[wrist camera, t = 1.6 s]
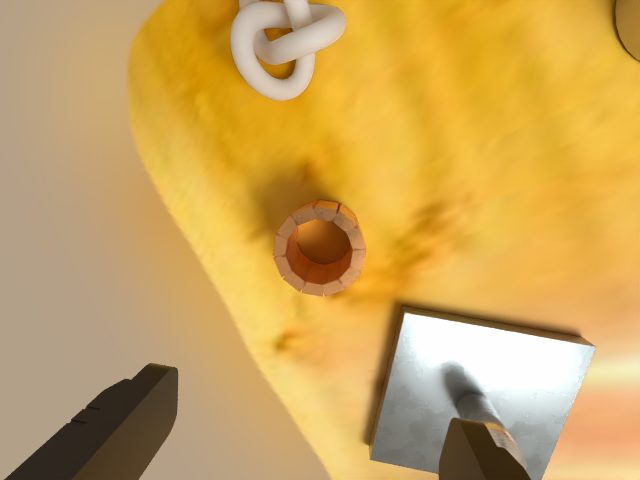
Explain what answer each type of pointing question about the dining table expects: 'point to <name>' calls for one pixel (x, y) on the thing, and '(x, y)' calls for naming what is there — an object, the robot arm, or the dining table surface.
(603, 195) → the dining table surface
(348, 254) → the wooden tube
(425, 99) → the dining table surface
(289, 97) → the knot
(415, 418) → the base
